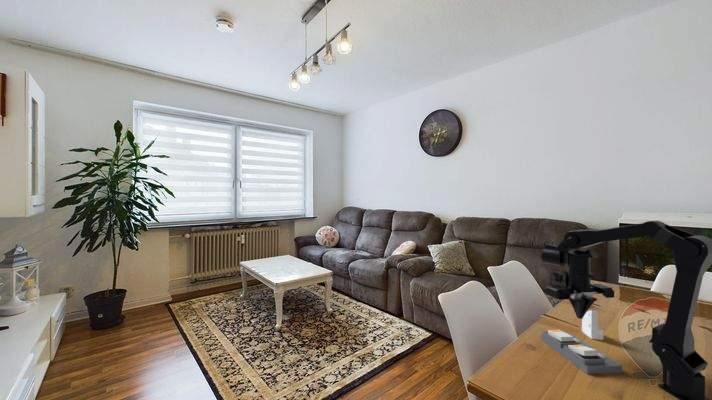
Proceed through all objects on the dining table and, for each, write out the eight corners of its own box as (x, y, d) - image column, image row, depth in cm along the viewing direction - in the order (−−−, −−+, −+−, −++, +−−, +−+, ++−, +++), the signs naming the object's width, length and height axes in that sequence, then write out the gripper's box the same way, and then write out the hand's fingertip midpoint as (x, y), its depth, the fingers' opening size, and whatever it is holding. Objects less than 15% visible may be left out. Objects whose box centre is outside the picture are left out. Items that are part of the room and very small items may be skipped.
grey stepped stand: (621, 372, 81) (622, 361, 81) (587, 373, 81) (587, 362, 81) (569, 338, 100) (569, 329, 100) (540, 339, 100) (540, 330, 100)
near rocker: (598, 355, 83) (597, 349, 83) (584, 356, 83) (583, 350, 83) (581, 349, 89) (580, 344, 89) (568, 350, 88) (567, 344, 89)
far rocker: (573, 341, 92) (573, 336, 92) (561, 341, 92) (560, 336, 92) (559, 333, 98) (559, 329, 98) (547, 334, 98) (547, 329, 98)
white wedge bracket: (599, 337, 96) (591, 309, 100) (584, 339, 104) (577, 314, 108) (612, 338, 95) (603, 310, 99) (595, 340, 103) (588, 314, 108)
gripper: (585, 263, 101) (586, 307, 101) (533, 264, 100) (534, 309, 100) (615, 270, 90) (616, 321, 90) (558, 272, 89) (558, 323, 89)
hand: (579, 318), depth 93 cm, fingers closed
